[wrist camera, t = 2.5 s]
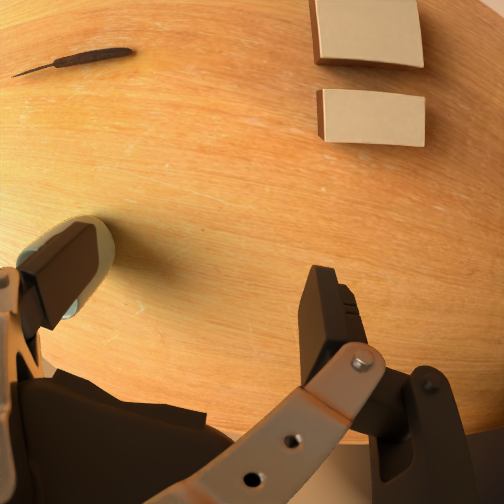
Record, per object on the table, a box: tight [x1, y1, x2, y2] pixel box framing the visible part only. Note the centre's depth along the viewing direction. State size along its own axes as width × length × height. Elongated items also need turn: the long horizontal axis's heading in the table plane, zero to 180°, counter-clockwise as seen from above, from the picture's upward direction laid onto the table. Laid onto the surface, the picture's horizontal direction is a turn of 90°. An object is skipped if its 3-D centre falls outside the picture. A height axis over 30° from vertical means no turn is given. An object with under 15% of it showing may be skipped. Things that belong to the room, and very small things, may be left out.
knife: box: [11, 48, 132, 78], centre depth 21 cm, size 16×1×2 cm, turn 85°
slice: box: [316, 89, 425, 147], centre depth 21 cm, size 4×8×4 cm, turn 94°
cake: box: [309, 0, 424, 71], centre depth 17 cm, size 8×8×4 cm
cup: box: [16, 215, 115, 319], centre depth 27 cm, size 8×8×10 cm
